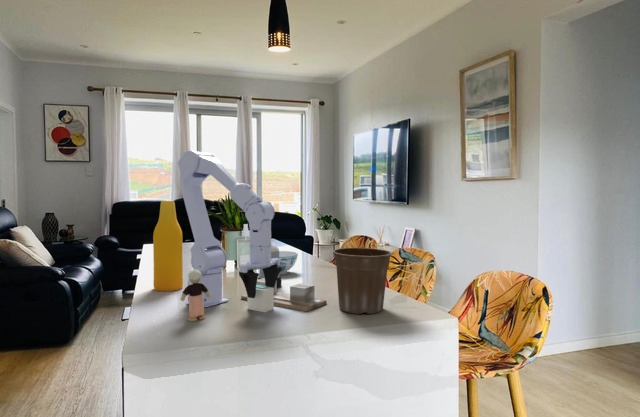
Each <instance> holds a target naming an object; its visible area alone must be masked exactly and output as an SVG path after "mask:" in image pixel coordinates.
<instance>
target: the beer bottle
mask: <svg viewBox="0 0 640 417" xmlns="http://www.w3.org/2000/svg"><path fill="white" fill-rule="evenodd" d="M159 208H160V209H159V217H158V221H157V224H156V226H155V227H154V230H153V235H152V236H153V237H152V239H153V242H152V244H153V245H152V246H153V249H152V250H153V253H152V254H153V288H154V290H155V291H156V292H174V291H179V290H181V289H182V288H183V286H184V278H183V275H184V274H183V270H184V269H183V267H184V266H183V259H184V258H183V230H182V228H181V226H180V224H179V222H178V219H177V218H178V217H177V212H176V203H175V201H174V200H161V201H160V207H159Z"/></svg>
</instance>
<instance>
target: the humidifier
mask: <svg viewBox="0 0 640 417" xmlns="http://www.w3.org/2000/svg"><path fill="white" fill-rule="evenodd" d="M279 251H280V249H279V247H278V246H277V245H276V244H274V243H273V242H271V259H273V258H278V259H279ZM278 267H279V266H278ZM262 278H265V277H264V272H263V269H259V276H258V279H262ZM258 279H257V280H258ZM281 287H282V277H281V276H280V275H278V277H277V289H279V288H281Z"/></svg>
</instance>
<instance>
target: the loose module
mask: <svg viewBox="0 0 640 417" xmlns="http://www.w3.org/2000/svg"><path fill="white" fill-rule="evenodd" d="M246 301H247V304H246V305H247V310H251V311H255V312H256V311H257V312H260V313H266V312H269V311H272V310H274V308H275V307H274V288H272V287H268V286H261V285H256V295H255V298H249V297H248V296H247V300H246Z"/></svg>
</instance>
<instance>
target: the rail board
mask: <svg viewBox="0 0 640 417" xmlns="http://www.w3.org/2000/svg"><path fill="white" fill-rule="evenodd" d="M256 285H261V286H265V278H262V279H257V284H256ZM277 290H278V288H277V280H276V283H275V287H274V306H275V307H280V308H284V309H285V308H286V309H290V310H291V309H292V310H294V311H295V310H297V311H301V312H302V311H303V312H310V311H312V310H313V309H317V308H319V307H322V306H325V305H327V300H326V299H321V298H315V294H316V293H315V285H313V284H308V283H297V284H294V285H290V286H289V293H284V292H278V291H277ZM240 299H241V300H244V301H247V294H244V295H241V298H240Z"/></svg>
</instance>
